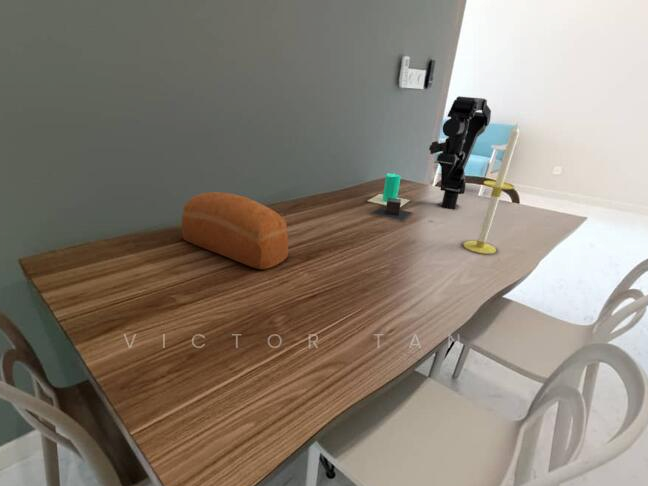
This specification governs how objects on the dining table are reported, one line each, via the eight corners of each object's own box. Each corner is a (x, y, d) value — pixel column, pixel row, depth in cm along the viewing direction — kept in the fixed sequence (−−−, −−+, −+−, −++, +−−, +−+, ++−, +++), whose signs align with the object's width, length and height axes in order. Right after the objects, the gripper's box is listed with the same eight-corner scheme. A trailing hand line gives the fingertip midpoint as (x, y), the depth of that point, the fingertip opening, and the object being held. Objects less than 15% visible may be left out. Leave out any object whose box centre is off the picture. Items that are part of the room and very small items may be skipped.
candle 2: (472, 239, 133) (507, 118, 114) (501, 249, 127) (544, 123, 108) (457, 246, 127) (492, 119, 108) (487, 256, 121) (530, 124, 102)
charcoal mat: (382, 207, 158) (383, 205, 158) (411, 213, 153) (411, 212, 153) (371, 214, 150) (371, 213, 149) (401, 221, 144) (401, 220, 144)
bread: (261, 273, 102) (261, 216, 95) (178, 240, 118) (172, 188, 110) (292, 257, 112) (295, 203, 104) (212, 228, 128) (209, 180, 120)
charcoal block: (385, 210, 154) (387, 197, 151) (398, 211, 153) (400, 198, 150) (385, 214, 149) (387, 201, 147) (398, 215, 149) (400, 202, 146)
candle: (398, 202, 163) (403, 173, 157) (384, 202, 162) (389, 172, 156) (394, 198, 168) (399, 169, 162) (380, 198, 168) (385, 169, 161)
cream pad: (379, 194, 174) (379, 193, 174) (410, 201, 168) (410, 200, 168) (366, 201, 163) (367, 200, 163) (398, 209, 157) (399, 207, 157)
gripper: (441, 131, 152) (431, 173, 160) (428, 133, 138) (417, 179, 145) (470, 136, 148) (458, 178, 155) (460, 138, 133) (448, 185, 141)
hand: (445, 179), depth 149 cm, fingers open, 9 cm apart
